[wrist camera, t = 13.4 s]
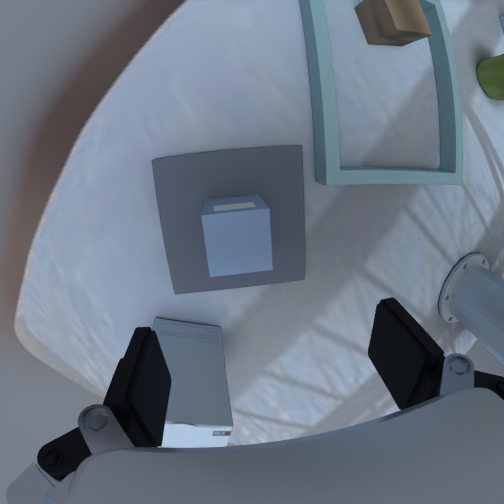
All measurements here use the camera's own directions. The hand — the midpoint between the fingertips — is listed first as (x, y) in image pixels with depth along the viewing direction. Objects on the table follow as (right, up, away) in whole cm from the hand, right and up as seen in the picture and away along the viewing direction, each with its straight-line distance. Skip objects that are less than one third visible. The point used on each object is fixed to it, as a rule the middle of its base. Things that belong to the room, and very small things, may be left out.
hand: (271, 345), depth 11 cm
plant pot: (+35, +30, +13) cm, 47 cm away
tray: (+14, +24, +12) cm, 30 cm away
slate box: (-2, +7, +16) cm, 17 cm away
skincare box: (-9, -7, +22) cm, 24 cm away
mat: (-3, +7, +17) cm, 18 cm away
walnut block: (+14, +29, +10) cm, 34 cm away
